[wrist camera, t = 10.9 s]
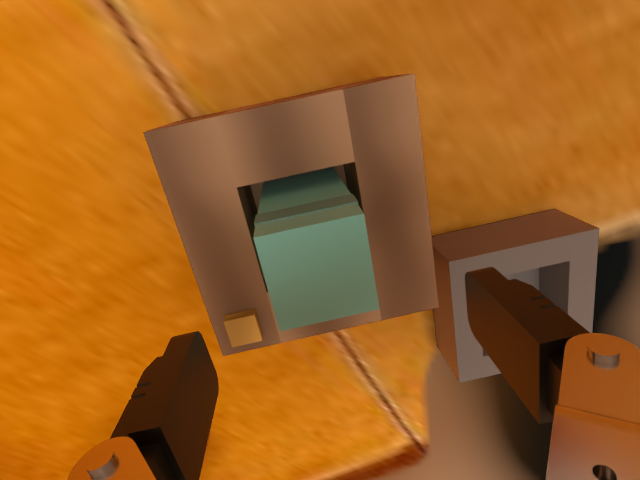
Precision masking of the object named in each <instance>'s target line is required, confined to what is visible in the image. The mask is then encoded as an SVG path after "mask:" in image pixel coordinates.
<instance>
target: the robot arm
mask: <svg viewBox="0 0 640 480" xmlns="http://www.w3.org/2000/svg"><path fill="white" fill-rule="evenodd" d="M465 290H466V303H467V315H468V322H469V325H470V328H471V331H472V333H473V335H474V337H475V338H476V340H477V341H478V342H479V344H480V345H481V346H482V348H483V349H484V350H485V352H486V353H487V354H488V356H489V357H490V358H491V360H492V361H493V363H494V364H495V365H496V367H497V368H498V369H499V371H500V372H501V373H502V374H503V376H504V377H505V379H506V380H507V381H508V383H509V384H510V385H511V387H512V388H513V389H514V391H515V392H516V393H517V395H518V396H519V398H520V399H521V400H522V402H524V404H525V406H526V407H527V408H528V410H529V411H530V412H531V413H532V415H533V416H534V418H535V419H536V420H537V422H538V423H539V424H542V423H547V422H551V421H553V427H552V436H551V443H550V451H549V458H548V466H547V474H546V480H640V350H639V349H638V348H636V347H635V346H634V345H633V344H631V343H629V342H627V341H625V340H623V339H621V338H618V337H615V336H611V335H607V334H600V333H590V332H589V331H587V330H586V329H585V328H584V327H583V326H581V325H580V324H579V323H578V322H576V321H575V320H574V319H573V318H572V317H570V316H569V315H568V314H567V313H565V312H564V311H563V310H562V309H561V308H559V307H558V306H555V304H554V303H553V302H552V301H551V300H550V299H548V298H547V297H546V298H545V295H543V294H542V293H541V292H540V291H539V290H537V289H536V288H535V287H534V286H532V285H530V284H527V283H525V282H522V281H520V280H517V279H511V280H508V279H507V278H506V277H504V276H503V275H502V274H501V273H500V272H499V271H498V270H496V269H495V268H494V267H487V268H483V269H478V270H474V271H469V272H466V274H465ZM218 388H219V387H218V378H217V373H216V370H215V368H214V365H213V363H212V360H211V357H210V355H209V352H208V350H207V347H206V344H205V342H204V339H203V337H202V335H201V333H200V332H198V331H196V332H192V333H187V334H183V335H178V336H174V337H172V338H171V340H170V342H169V344H168V346H167V348H166V350H165V353H164V355H163V356H162V357H157V358H156V359H155V360H154V361H153V362H152V363H151V364H150V365H149V366H148V367H147V368H146V369H145V370H144V372H143V374H142V376H141V378H140V380H139V382H138V384H137V388H135V390H134V392H133V394H132V396H131V399H130V400H129V402H128V404H127V406H126V408H125V410H124V412H123V414H122V416H121V418H120V420H119V422H118V424H117V426H116V428H115V430H114V432H113V434H112V436H111V438H110V439H109V440H106V441H104V442H102V443H100V444H98V445H97V446H95V447H94V448H92V449H91V450H89V451H88V452H87V453H86V454H85V455H84V456H83V457H82V458H81V459H80V460H79V461H78V462H77V463H76V464H75V466H74V467H73V469H72V470H71V472H70V474H69V477H68V480H199V477H200V473H201V468H202V464H203V459H204V455H205V450H206V446H207V441H208V437H209V432H210V428H211V423H212V419H213V414H214V410H215V405H216V401H217V397H218Z"/></svg>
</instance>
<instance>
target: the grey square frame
mask: <svg viewBox="0 0 640 480" xmlns="http://www.w3.org/2000/svg"><path fill="white" fill-rule="evenodd" d="M431 237H432V247H433V257H434V267H435V276H436V286H437V296H438V306H439V307H438V308H434V309H433V312H434V321H435V330H436V340H437V347H438V348H439V350H440V352H441V353H442V355H443V356H444V358H445V360H446V362H447V363H448V365H449V366H450V368H451V370H452V372H453V373H454V375H455V376H456V378H457V380H458V381H459V383H461V382H465V381H469V380H474V379H478V378H482V377H487V376H492V375H495V374H500V373H501V372H500V371H499V369H498V368H497V367H496V365H495V364H494V363H493V361H492V360H491V358H490V357H489V356H488V354H487V353H486V352H485V350H484V349H483V348H482V346H481V345H480V344H479V342H478V341H477V340H476V338H475V337H474V335H473V333H472V331H471V328H470V325H469V322H468V315H467V303H466V290H465V274H466V272H469V271H474V270H478V269H483V268H487V267H494V268H495V269H496V270H498V271H499V272H500V273H501V274H502V275H503V276H504V277H506V278H507V279H508V280H511V279H517V280H520V281H522V282H525V283H527V284H530V285H532V286H534V287H535V288H536V289H537V290H539V291H540V292H541V293H542V294H543V295H545V298H546V297H547V298H548V299H550V300H551V301H552V302H553V303H554V304H555V306H558V307H559V308H561V309H562V310H563V311H564V312H565V313H567V314H568V315H569V316H570V317H572V318H573V319H574V320H575V321H576V322H578V323H579V324H580V325H581V326H583V327H584V328H585V329H586V330H587V331H589V332H590V333H592V326H593V312H594V298H595V281H596V267H597V253H598V238H599V228H597V227H595V226H592V225H590V224H588V223H586V222H583V221H581V220H579V219H577V218H574V217H572V216H570V215H568V214H565V213H563V212H561V211H559V210H556V209H553V210H548V211H544V212H539V213H535V214H530V215H526V216H521V217H517V218H512V219H508V220H503V221H499V222H494V223H490V224H485V225H481V226H476V227H472V228H467V229H463V230H458V231H454V232H449V233H445V234H440V235H436V236H431Z"/></svg>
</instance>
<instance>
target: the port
mask: <svg viewBox="0 0 640 480" xmlns="http://www.w3.org/2000/svg"><path fill="white" fill-rule="evenodd" d="M143 133H144V135H145V138H146V141H147V144H148V147H149V149H150V152H151V155H152V158H153V161H154V163H155V166H156V169H157V172H158V175H159V177H160V180H161V183H162V186H163V189H164V191H165V194H166V197H167V200H168V203H169V206H170V208H171V211H172V214H173V217H174V220H175V222H176V225H177V228H178V231H179V234H180V236H181V239H182V242H183V245H184V248H185V250H186V253H187V256H188V259H189V262H190V264H191V267H192V270H193V273H194V276H195V278H196V281H197V284H198V287H199V290H200V292H201V295H202V298H203V301H204V304H205V306H206V309H207V312H208V315H209V318H210V320H211V323H212V326H213V329H214V332H215V334H216V337H217V340H218V343H219V346H220V348H221V351H222V354H223V356H225V355H230V354H234V353H239V352H243V351H247V350H252V349H256V348H261V347H265V346H270V345H274V344H279V343H283V342H287V341H292V340H296V339H301V338H305V337H310V336H314V335H318V334H323V333H327V332H332V331H336V330H341V329H345V328H350V327H354V326H358V325H363V324H367V323H372V322H376V321H381V320H385V319H390V318H394V317H398V316H403V315H407V314H412V313H416V312H421V311H425V310H429V309H434V308H438V307H439V306H438V296H437V286H436V276H435V267H434V257H433V247H432V237H431V228H430V218H429V208H428V198H427V188H426V179H425V169H424V159H423V149H422V140H421V130H420V120H419V110H418V101H417V91H416V81H415V74H406V75H396V76H387V77H380V78H375V79H370V80H366V81H361V82H357V83H352V84H347V85H343V86H338V87H334V88H329V89H324V90H320V91H315V92H310V93H306V94H301V95H297V96H292V97H287V98H283V99H278V100H273V101H269V102H264V103H260V104H255V105H250V106H246V107H241V108H237V109H232V110H227V111H223V112H218V113H213V114H209V115H204V116H200V117H195V118H190V119H186V120H181V121H177V122H174V123H171V124H168V125H164V126H161V127H158V128H155V129H152V130H149V131H146V132H143ZM328 167H333V168H334V169H335V171H336V172H337V174H338V175H339V177H340V178H341V180H342V181H343V183H344V184H345V186H346V187H347V189H348V190H349V192H350V193H351V194H353V195H354V196H355V198H356V199H357V201H358V205H359V207H360V208H361V210H362V211H363V213H364V217H365V223H366V229H367V235H368V241H369V247H370V253H371V259H372V265H373V271H374V277H375V283H376V290H377V296H378V302H379V308H380V309H378V310H374V311H369V312H365V313H360V314H356V315H351V316H347V317H343V318H338V319H334V320H329V321H325V322H320V323H316V324H311V325H307V326H302V327H298V328H293V329H289V330H284V331H279V328H278V324H277V321H276V317H275V314H274V310H273V306H272V303H271V299H270V296H269V292H268V289H267V285H266V282H265V278H264V274H263V271H262V267H261V264H260V260H259V257H258V253H257V250H256V246H255V242H254V239H253V236H254V231H255V226H254V221H255V216H256V215H257V214H258V209H259V203H260V198H261V192H262V187H263V182H264V181H269V180H274V179H278V178H283V177H287V176H292V175H296V174H301V173H305V172H310V171H315V170H319V169H324V168H328Z"/></svg>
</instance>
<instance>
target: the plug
mask: <svg viewBox="0 0 640 480" xmlns="http://www.w3.org/2000/svg"><path fill="white" fill-rule="evenodd" d="M254 226H255V231H254V236H253V239H254V242H255V246H256V250H257V253H258V257H259V260H260V264H261V267H262V271H263V274H264V278H265V282H266V285H267V289H268V292H269V296H270V299H271V303H272V306H273V310H274V314H275V317H276V321H277V324H278V328H279V331H284V330H289V329H293V328H298V327H302V326H307V325H311V324H316V323H320V322H325V321H329V320H334V319H338V318H343V317H347V316H351V315H356V314H360V313H365V312H369V311H374V310H378V309H380V308H379V302H378V296H377V290H376V283H375V277H374V271H373V265H372V259H371V253H370V247H369V241H368V235H367V229H366V223H365V217H364V213H363V211H362V210H361V208H360V207H359V205H358V201H357V199H356V198H355V196H354V195H353V194H351V193H350V192H349V190H348V189H347V187H346V186H345V184H344V183H343V181H342V180H341V178H340V177H339V175H338V174H337V172H336V171H335V169H334V168H333V167H328V168H324V169H319V170H315V171H310V172H305V173H301V174H296V175H292V176H287V177H283V178H278V179H274V180H269V181H264V182H263V187H262V192H261V198H260V203H259V209H258V214H257V215H256V216H255V221H254Z"/></svg>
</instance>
